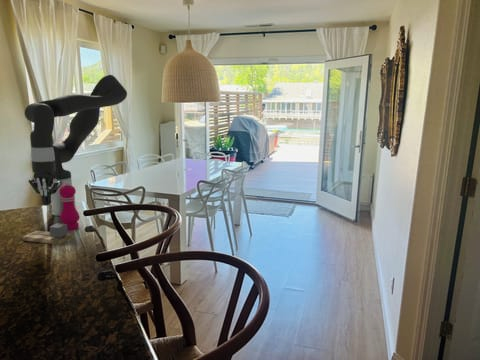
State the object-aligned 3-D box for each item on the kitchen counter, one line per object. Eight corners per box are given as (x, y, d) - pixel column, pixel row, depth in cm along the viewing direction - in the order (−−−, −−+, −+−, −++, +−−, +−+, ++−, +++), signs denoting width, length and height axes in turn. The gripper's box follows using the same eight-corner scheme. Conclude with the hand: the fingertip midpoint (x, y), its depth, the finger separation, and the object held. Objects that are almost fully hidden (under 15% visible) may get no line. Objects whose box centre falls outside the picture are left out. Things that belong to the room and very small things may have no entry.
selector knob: (50, 236, 132) (49, 226, 131) (58, 232, 136) (57, 223, 135) (59, 237, 131) (58, 227, 130) (67, 233, 135) (66, 223, 135)
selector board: (23, 240, 133) (22, 236, 133) (37, 234, 140) (36, 230, 140) (60, 244, 130) (59, 240, 130) (72, 237, 137) (72, 233, 137)
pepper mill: (83, 225, 151) (79, 180, 147) (74, 231, 144) (70, 183, 140) (67, 224, 152) (63, 179, 147) (57, 230, 144) (52, 183, 140)
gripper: (19, 159, 126) (24, 205, 130) (51, 161, 123) (54, 209, 127) (35, 156, 133) (39, 200, 137) (66, 159, 130) (69, 203, 134)
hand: (47, 204), depth 132 cm, fingers closed
